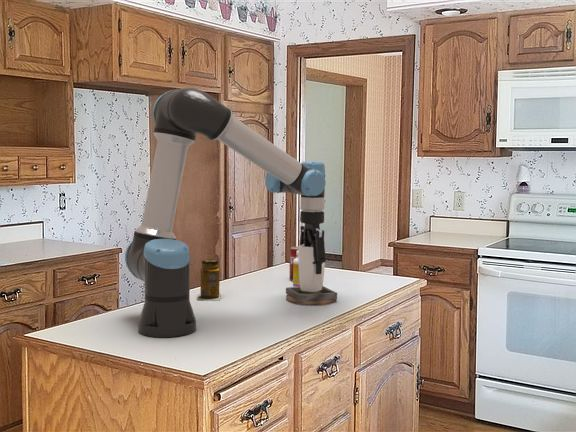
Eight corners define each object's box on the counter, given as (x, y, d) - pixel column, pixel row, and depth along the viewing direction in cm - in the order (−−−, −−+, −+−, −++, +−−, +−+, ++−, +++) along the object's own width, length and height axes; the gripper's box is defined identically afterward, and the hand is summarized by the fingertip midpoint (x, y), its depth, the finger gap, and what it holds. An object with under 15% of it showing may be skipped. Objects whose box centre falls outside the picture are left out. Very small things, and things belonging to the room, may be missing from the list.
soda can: (309, 282, 244) (310, 249, 243) (289, 282, 244) (289, 249, 243) (309, 278, 251) (309, 246, 250) (289, 278, 251) (289, 246, 250)
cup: (305, 288, 221) (306, 243, 220) (326, 290, 218) (327, 245, 217) (296, 292, 215) (296, 246, 213) (317, 295, 212) (317, 247, 210)
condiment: (221, 294, 222) (221, 258, 221) (219, 300, 214) (219, 263, 213) (199, 294, 222) (199, 258, 221) (196, 300, 214) (196, 262, 213)
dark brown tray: (297, 307, 206) (297, 297, 206) (278, 295, 221) (279, 286, 221) (344, 303, 212) (344, 293, 212) (323, 292, 227) (324, 283, 227)
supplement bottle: (309, 290, 230) (310, 253, 229) (290, 289, 232) (291, 252, 230) (314, 286, 236) (314, 250, 235) (295, 285, 238) (296, 249, 237)
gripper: (337, 213, 205) (336, 287, 207) (310, 207, 225) (309, 274, 227) (314, 214, 202) (313, 288, 205) (288, 207, 222) (288, 275, 225)
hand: (311, 281), depth 216 cm, fingers closed on cup, 9 cm apart
